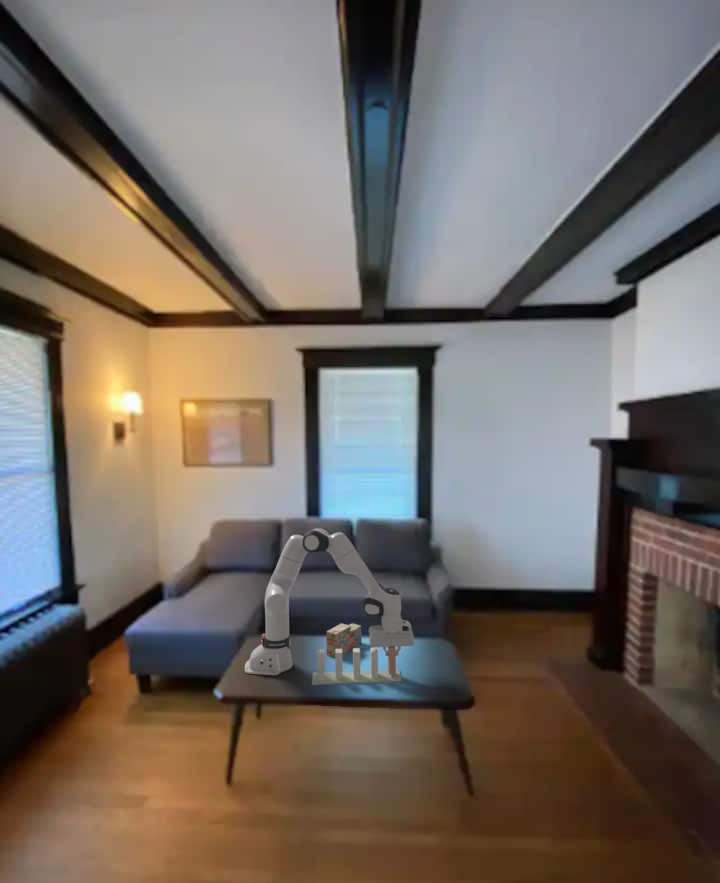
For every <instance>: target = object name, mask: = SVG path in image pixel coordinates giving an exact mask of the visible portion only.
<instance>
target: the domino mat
mask: <svg viewBox="0 0 720 883" xmlns="http://www.w3.org/2000/svg"><path fill="white" fill-rule="evenodd" d="M311 677H312V678H311V686H326V685H327V686H329V685H331V686H332V685H352V684H353V685H355V684H356V685H357V684H379V683H381V684H382V683H383V684H384V683H387V684H388V683H402V682H403V679H402V678H403V677H402V676H401V672H400V669H397V668H396V674H389V672H388V669H378V678H371V669H370V670H360V679H354V678H353V670H349V671H348V670H347V671H343V670H342V679H337V680H336V671H325V680H318V671H316V672H312V676H311Z"/></svg>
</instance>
